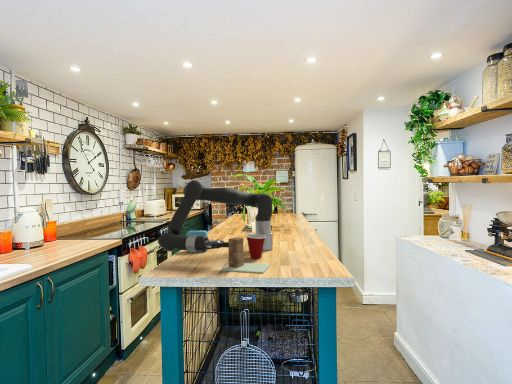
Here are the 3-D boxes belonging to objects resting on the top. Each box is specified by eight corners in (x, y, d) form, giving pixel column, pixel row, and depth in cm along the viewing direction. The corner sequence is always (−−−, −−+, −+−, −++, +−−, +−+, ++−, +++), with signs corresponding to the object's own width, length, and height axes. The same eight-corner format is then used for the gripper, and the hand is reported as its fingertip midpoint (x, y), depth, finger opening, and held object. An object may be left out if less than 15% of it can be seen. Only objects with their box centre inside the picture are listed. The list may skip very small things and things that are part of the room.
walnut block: (228, 266, 150) (228, 238, 150) (235, 264, 154) (234, 237, 154) (237, 267, 148) (237, 239, 147) (243, 265, 152) (243, 238, 152)
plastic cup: (264, 260, 164) (264, 237, 163) (244, 259, 166) (243, 236, 166) (268, 255, 174) (267, 233, 174) (248, 255, 176) (248, 233, 176)
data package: (208, 250, 190) (207, 230, 189) (206, 252, 185) (206, 231, 185) (188, 250, 191) (188, 230, 190) (186, 252, 186) (185, 231, 186)
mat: (220, 270, 146) (220, 269, 146) (231, 263, 159) (231, 261, 159) (263, 273, 140) (263, 272, 140) (270, 265, 153) (270, 264, 153)
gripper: (190, 238, 150) (225, 239, 145) (203, 233, 163) (235, 234, 158) (191, 254, 150) (225, 255, 145) (203, 248, 163) (235, 249, 158)
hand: (230, 244), depth 152 cm, fingers closed
